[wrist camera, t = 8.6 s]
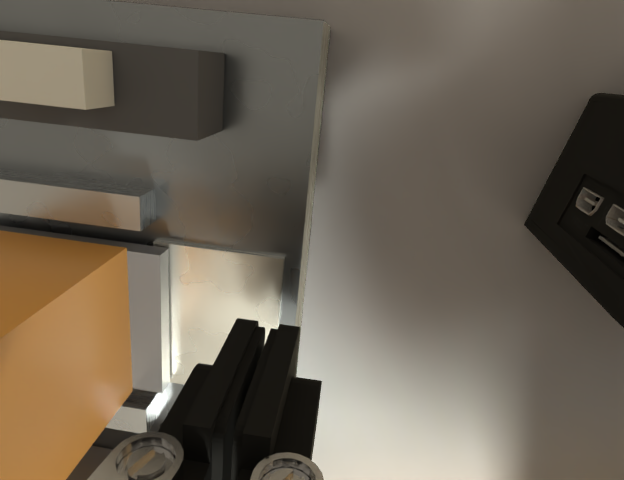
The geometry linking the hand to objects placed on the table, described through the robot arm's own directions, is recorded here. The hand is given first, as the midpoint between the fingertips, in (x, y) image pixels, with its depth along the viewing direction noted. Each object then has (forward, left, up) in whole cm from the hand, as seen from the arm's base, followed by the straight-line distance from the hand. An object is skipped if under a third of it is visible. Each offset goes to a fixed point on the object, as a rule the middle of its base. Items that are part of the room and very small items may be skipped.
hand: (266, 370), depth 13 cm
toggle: (+7, 0, -2) cm, 7 cm away
